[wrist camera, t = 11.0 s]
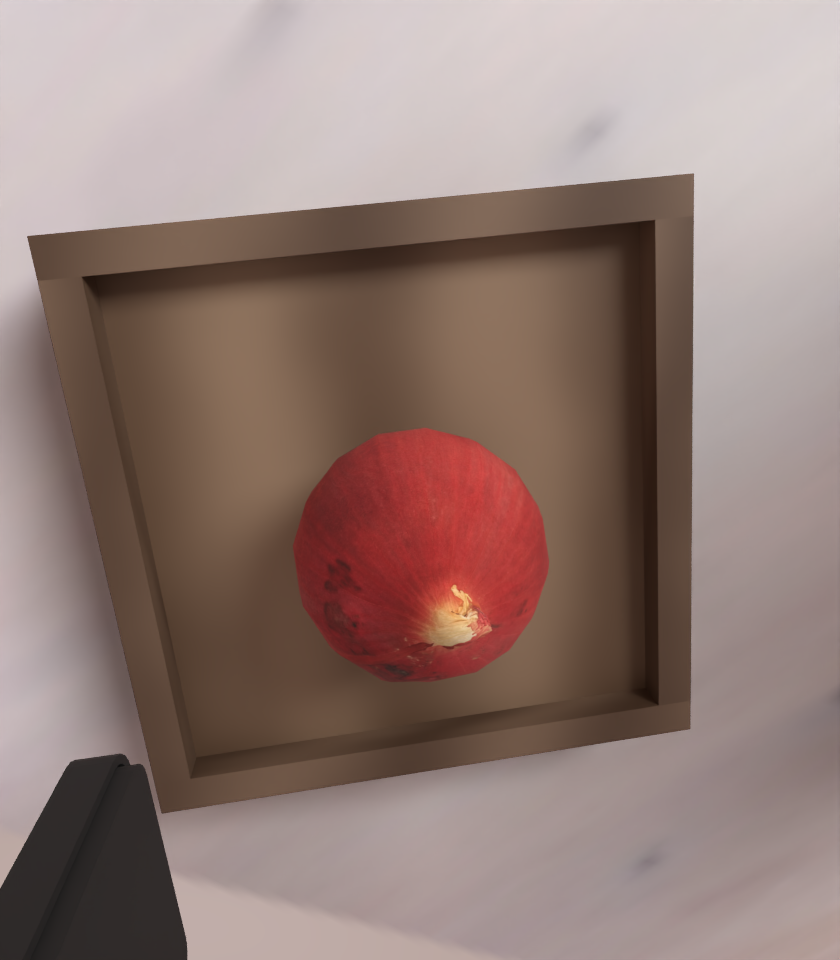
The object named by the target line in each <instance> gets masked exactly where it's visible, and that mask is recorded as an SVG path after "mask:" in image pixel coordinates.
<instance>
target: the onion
mask: <svg viewBox="0 0 840 960" xmlns="http://www.w3.org/2000/svg"><path fill="white" fill-rule="evenodd" d="M293 551H294V558H295V564H296V571H297V578H298V585H299V592H300V596H301V600H302V604H303V607H304V608H305V610H306V611H307V613H308V614H309V616H310V617H311V619H312V620H313V622H314V623H315V625H316V626H317V628H318V629H319V631H320V632H321V634H322V635H323V637H324V638H325V640H326V641H327V643H328V644H329V646H330V647H331V648H332V649H333V650H334V651H336V652H337V653H338V654H339V655H340V656H342V657H344V658H345V659H347V660H349V661H350V662H352V663H354V664H355V665H357V666H359V667H360V668H362V669H364V670H365V671H367V672H369V673H371V674H372V675H374V676H376V677H377V678H379V679H381V680H383V681H388V682H415V681H416V682H433V681H438V680H442V679H447V678H452V677H456V676H461V675H466V674H470V673H475V672H477V671H479V670H480V669H482V668H483V667H485V666H486V665H488V664H489V663H491V662H492V661H494V660H495V659H497V658H498V657H500V656H501V655H503V654H504V653H506V652H507V651H509V650H510V649H511V647H512V646H513V644H514V643H515V642H516V640H517V639H518V637H519V636H520V635H521V633H522V632H523V630H524V629H525V627H526V626H527V625H528V623H529V622H530V620H531V619H532V617H533V615H534V613H535V610H536V607H537V604H538V601H539V598H540V595H541V593H542V590H543V587H544V584H545V581H546V578H547V575H548V569H549V557H548V550H547V544H546V537H545V530H544V523H543V518H542V515H541V513H540V510H539V507H538V505H537V504H536V502H535V501H534V499H533V497H532V496H531V494H530V492H529V491H528V489H527V488H526V486H525V484H524V483H523V481H522V480H521V478H520V476H519V475H518V473H517V472H516V470H515V469H514V468H512V467H511V466H510V465H508V464H507V463H506V462H504V461H503V460H501V459H500V458H499V457H497V456H496V455H494V454H493V453H492V452H490V451H489V450H488V449H486V448H485V447H483V446H482V445H481V444H479V443H478V442H476V441H474V440H472V439H469V438H465V437H461V436H457V435H453V434H449V433H445V432H441V431H437V430H432V429H428V428H420V429H412V430H405V431H397V432H390V433H382V434H377V435H376V436H374V437H372V438H371V439H369V440H367V441H366V442H364V443H362V444H361V445H359V446H357V447H356V448H354V449H352V450H351V451H349V452H347V453H346V454H344V455H342V456H341V457H339V458H338V459H337V460H336V461H335V462H334V463H333V464H332V466H331V467H330V469H329V470H328V471H327V473H326V474H325V475H324V477H323V478H322V479H321V480H320V482H319V483H318V484H317V485H316V487H315V488H314V489H313V490H312V492H311V494H310V495H309V497H308V499H307V501H306V503H305V507H304V510H303V513H302V517H301V520H300V523H299V527H298V530H297V534H296V537H295V540H294V544H293Z"/></svg>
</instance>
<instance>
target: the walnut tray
mask: <svg viewBox="0 0 840 960" xmlns="http://www.w3.org/2000/svg"><path fill="white" fill-rule="evenodd" d="M693 228H694V174H683V175H673V176H662V177H652V178H641V179H630V180H620V181H609V182H598V183H588V184H577V185H566V186H556V187H545V188H535V189H524V190H513V191H503V192H492V193H481V194H471V195H460V196H449V197H439V198H428V199H418V200H407V201H396V202H386V203H375V204H364V205H354V206H343V207H332V208H322V209H311V210H301V211H290V212H279V213H269V214H258V215H247V216H237V217H226V218H215V219H205V220H194V221H184V222H173V223H162V224H152V225H141V226H130V227H120V228H109V229H98V230H88V231H77V232H67V233H56V234H45V235H35V236H27V238H28V242H29V246H30V250H31V255H32V259H33V263H34V268H35V272H36V276H37V280H38V285H39V289H40V293H41V298H42V302H43V306H44V310H45V315H46V319H47V323H48V328H49V332H50V336H51V340H52V345H53V349H54V353H55V358H56V362H57V366H58V370H59V375H60V379H61V383H62V388H63V392H64V396H65V401H66V405H67V409H68V413H69V418H70V422H71V426H72V431H73V435H74V439H75V443H76V448H77V452H78V456H79V461H80V465H81V469H82V473H83V478H84V482H85V486H86V491H87V495H88V499H89V503H90V508H91V512H92V516H93V521H94V525H95V529H96V533H97V538H98V542H99V546H100V551H101V555H102V559H103V564H104V568H105V572H106V576H107V581H108V585H109V589H110V594H111V598H112V602H113V606H114V611H115V615H116V619H117V624H118V628H119V632H120V636H121V641H122V645H123V649H124V654H125V658H126V662H127V666H128V671H129V675H130V679H131V684H132V688H133V692H134V696H135V701H136V705H137V709H138V714H139V718H140V722H141V726H142V731H143V735H144V739H145V744H146V748H147V752H148V757H149V761H150V765H151V769H152V774H153V778H154V782H155V787H156V791H157V795H158V799H159V804H160V808H161V812H162V813H168V812H174V811H180V810H187V809H193V808H199V807H206V806H212V805H218V804H224V803H231V802H237V801H243V800H249V799H256V798H262V797H268V796H274V795H281V794H287V793H293V792H299V791H306V790H312V789H318V788H324V787H331V786H337V785H343V784H349V783H356V782H362V781H368V780H374V779H381V778H387V777H393V776H400V775H406V774H412V773H418V772H425V771H431V770H437V769H443V768H450V767H456V766H462V765H468V764H475V763H481V762H487V761H493V760H500V759H506V758H512V757H518V756H525V755H531V754H537V753H543V752H550V751H556V750H562V749H568V748H575V747H581V746H587V745H594V744H600V743H606V742H612V741H619V740H625V739H631V738H637V737H644V736H650V735H656V734H662V733H669V732H675V731H681V730H687V729H690V700H691V543H692V385H693ZM420 428H428V429H432V430H437V431H441V432H445V433H449V434H453V435H457V436H461V437H465V438H469V439H472V440H474V441H476V442H478V443H479V444H481V445H482V446H483V447H485V448H486V449H488V450H489V451H490V452H492V453H493V454H494V455H496V456H497V457H499V458H500V459H501V460H503V461H504V462H506V463H507V464H508V465H510V466H511V467H512V468H514V469H515V470H516V472H517V473H518V475H519V476H520V478H521V480H522V481H523V483H524V484H525V486H526V488H527V489H528V491H529V492H530V494H531V496H532V497H533V499H534V501H535V502H536V504H537V505H538V507H539V510H540V513H541V515H542V518H543V523H544V530H545V537H546V544H547V550H548V557H549V569H548V575H547V578H546V581H545V584H544V587H543V590H542V593H541V595H540V598H539V601H538V604H537V607H536V610H535V613H534V615H533V617H532V619H531V620H530V622H529V623H528V625H527V626H526V627H525V629H524V630H523V632H522V633H521V635H520V636H519V637H518V639H517V640H516V642H515V643H514V644H513V646H512V647H511V649H510V650H509V651H507V652H506V653H504V654H503V655H501V656H500V657H498V658H497V659H495V660H494V661H492V662H491V663H489V664H488V665H486V666H485V667H483V668H482V669H480V670H479V671H477V672H475V673H470V674H466V675H461V676H456V677H452V678H447V679H442V680H438V681H433V682H416V681H415V682H388V681H383V680H381V679H379V678H377V677H376V676H374V675H372V674H371V673H369V672H367V671H365V670H364V669H362V668H360V667H359V666H357V665H355V664H354V663H352V662H350V661H349V660H347V659H345V658H344V657H342V656H340V655H339V654H338V653H337V652H336V651H334V650H333V649H332V648H331V647H330V646H329V644H328V643H327V641H326V640H325V638H324V637H323V635H322V634H321V632H320V631H319V629H318V628H317V626H316V625H315V623H314V622H313V620H312V619H311V617H310V616H309V614H308V613H307V611H306V610H305V608H304V607H303V604H302V600H301V596H300V592H299V585H298V578H297V571H296V564H295V558H294V551H293V544H294V540H295V537H296V534H297V530H298V527H299V523H300V520H301V517H302V513H303V510H304V507H305V503H306V501H307V499H308V497H309V495H310V494H311V492H312V490H313V489H314V488H315V487H316V485H317V484H318V483H319V482H320V480H321V479H322V478H323V477H324V475H325V474H326V473H327V471H328V470H329V469H330V467H331V466H332V464H333V463H334V462H335V461H336V460H337V459H338V458H339V457H341V456H342V455H344V454H346V453H347V452H349V451H351V450H352V449H354V448H356V447H357V446H359V445H361V444H362V443H364V442H366V441H367V440H369V439H371V438H372V437H374V436H376V435H377V434H382V433H390V432H397V431H405V430H412V429H420Z"/></svg>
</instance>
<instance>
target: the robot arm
mask: <svg viewBox="0 0 840 960" xmlns="http://www.w3.org/2000/svg"><path fill="white" fill-rule="evenodd" d="M0 960H187V942H186V936H185V932H184V928H183V924H182V920H181V916H180V912H179V907H178V903H177V899H176V895H175V890H174V886H173V882H172V878H171V874H170V870H169V865H168V861H167V857H166V853H165V849H164V845H163V840H162V836H161V832H160V828H159V824H158V820H157V815H156V811H155V807H154V803H153V799H152V795H151V791H150V786H149V782H148V778H147V774H146V771H145V769H144V767H143V765H141V764H136V765H130V763H129V760H128V759H127V757H126V756H125V755H123V754H115V755H108V756H101V757H94V758H87V759H79V760H74V761H72V762H70V764H69V765H68V766H67V768H66V769H65V771H64V773H63V775H62V776H61V778H60V780H59V782H58V784H57V786H56V787H55V789H54V791H53V793H52V795H51V797H50V798H49V800H48V802H47V804H46V806H45V808H44V809H43V811H42V813H41V815H40V817H39V819H38V820H37V822H36V824H35V826H34V828H33V830H32V831H31V833H30V835H29V837H28V839H27V841H26V842H25V844H24V846H23V848H22V850H21V852H20V853H19V855H18V857H17V859H16V861H15V863H14V864H13V866H12V868H11V870H10V872H9V874H8V875H7V877H6V879H5V881H4V883H3V885H2V887H1V888H0Z"/></svg>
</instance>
